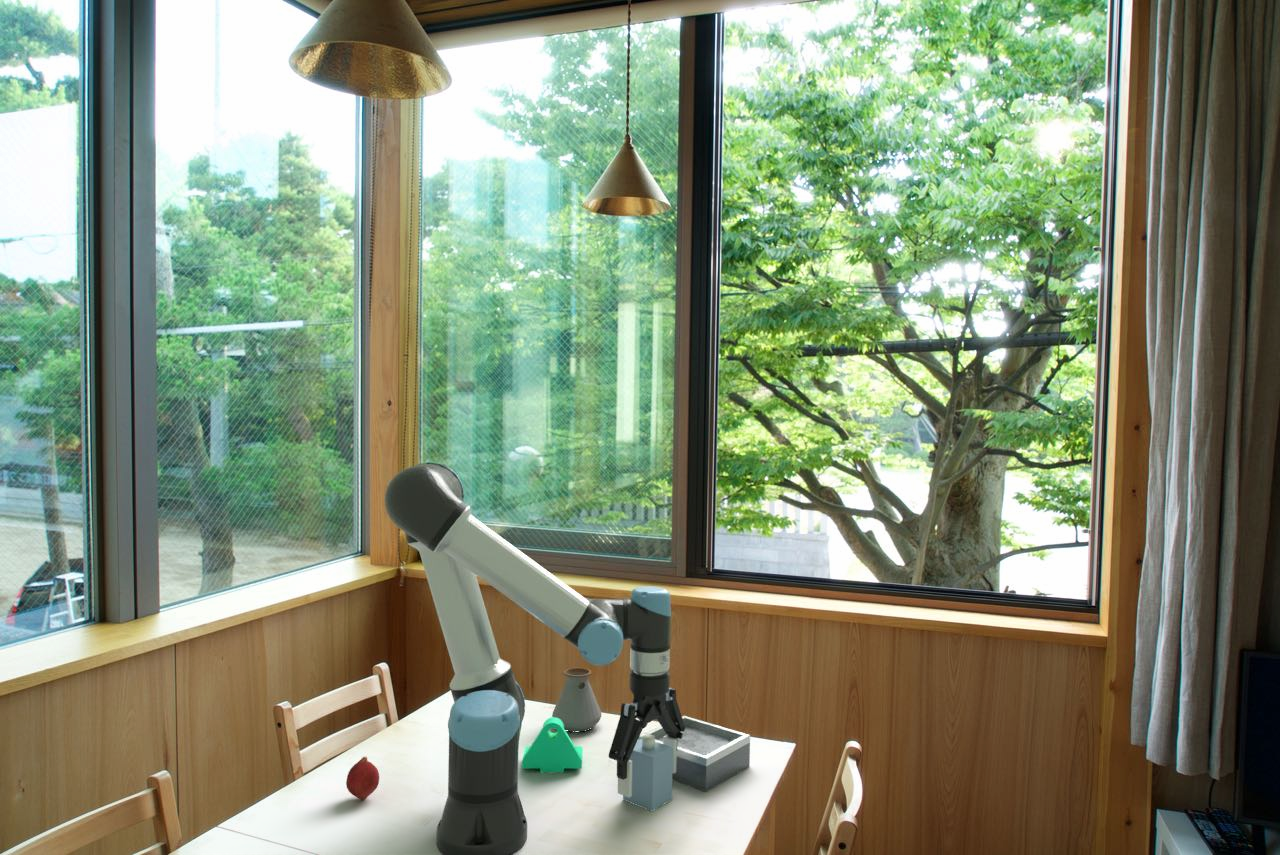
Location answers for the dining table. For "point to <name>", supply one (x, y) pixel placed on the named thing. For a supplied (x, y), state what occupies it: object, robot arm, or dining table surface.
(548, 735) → the camera mount
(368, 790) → the onion
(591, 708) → the coffee pot
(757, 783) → the dining table surface
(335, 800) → the dining table surface
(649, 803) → the blue bottle
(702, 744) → the open square box
